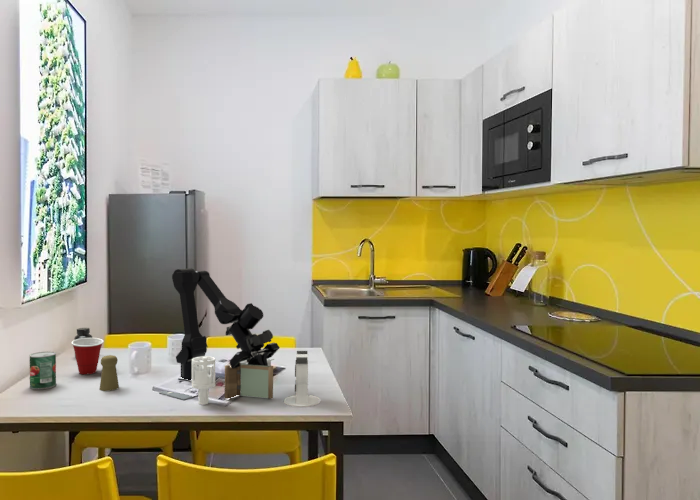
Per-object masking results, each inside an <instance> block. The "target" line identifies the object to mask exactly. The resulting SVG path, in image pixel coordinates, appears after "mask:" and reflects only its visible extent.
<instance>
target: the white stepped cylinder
mask: <svg viewBox="0 0 700 500" xmlns="http://www.w3.org/2000/svg"><path fill="white" fill-rule="evenodd" d="M197 365H199V366H197ZM215 386H216V358H215V357H214V356H207V355H205V356H202V357H196V358H193V359H192V381H191V388H192V389H195V390H198V396H197V398H198V402H197V403H198V405H201V406H202V405H203V406H205V405H209V398H210V397H209V393H210V392H209V389H212V388H214V387H215Z"/></svg>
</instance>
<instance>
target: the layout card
mask: <svg viewBox="0 0 700 500" xmlns="http://www.w3.org/2000/svg"><path fill="white" fill-rule="evenodd" d="M158 394H159V395H162V396H166V397H171V398H174V399H177V400H181V401H186V400H189V399H193V398H192V396H189V395H185V394H180V393H174V392H167V391H166V390H163V391H160V392H159V393H158Z"/></svg>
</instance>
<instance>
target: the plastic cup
mask: <svg viewBox="0 0 700 500" xmlns="http://www.w3.org/2000/svg"><path fill="white" fill-rule="evenodd" d="M103 343H104V340H103V339H102V338H98V337H93V338H81V339H76V340H74V339H73V340H72V341H71V345H72V347H73V351H74V357H75V356H76V358H75V360H76V365H77V370H78V373H79V374H80V375H92V374H93V375H94V374H95V373H97V370H98V364H99V360H100V353H101V350H102V345H103Z"/></svg>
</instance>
